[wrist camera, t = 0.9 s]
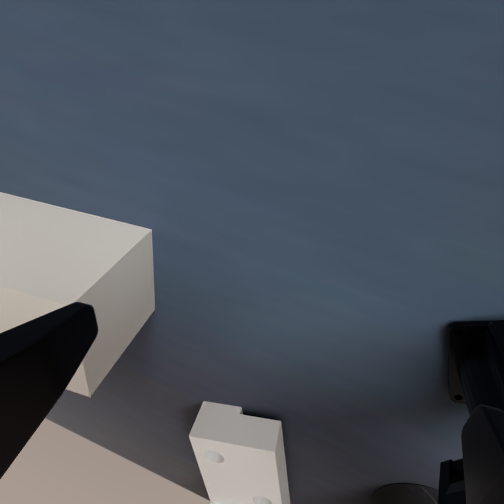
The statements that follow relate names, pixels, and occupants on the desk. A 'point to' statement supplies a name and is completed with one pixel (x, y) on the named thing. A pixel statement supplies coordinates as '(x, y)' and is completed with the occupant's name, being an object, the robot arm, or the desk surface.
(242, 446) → the bracket
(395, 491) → the travel mug
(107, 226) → the white cardboard box
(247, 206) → the desk surface
